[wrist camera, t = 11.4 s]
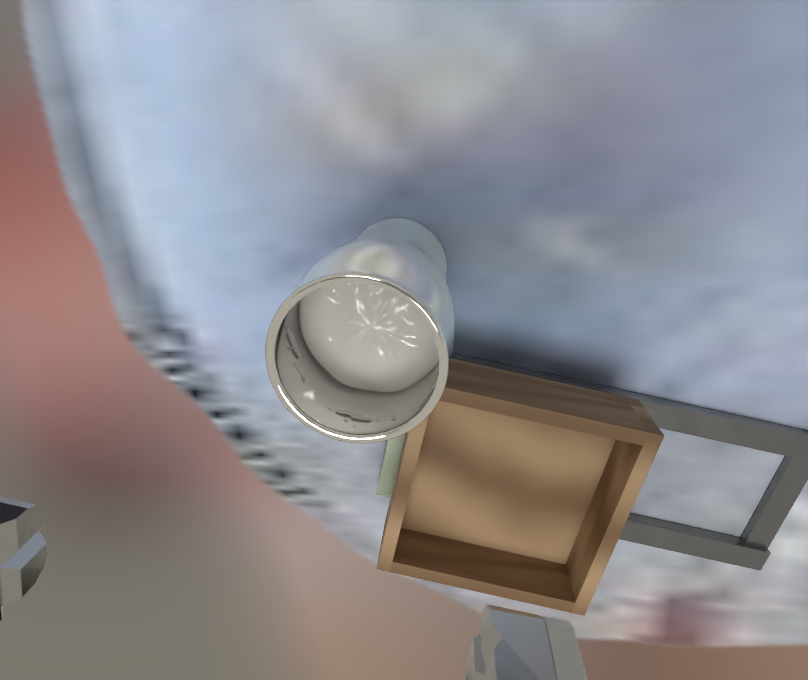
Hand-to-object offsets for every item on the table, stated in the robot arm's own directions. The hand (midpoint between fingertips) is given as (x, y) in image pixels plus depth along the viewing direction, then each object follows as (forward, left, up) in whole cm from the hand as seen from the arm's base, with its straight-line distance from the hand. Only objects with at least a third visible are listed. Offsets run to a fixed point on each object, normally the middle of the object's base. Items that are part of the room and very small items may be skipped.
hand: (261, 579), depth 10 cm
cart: (+10, +9, -23) cm, 27 cm away
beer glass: (0, 0, -25) cm, 25 cm away
